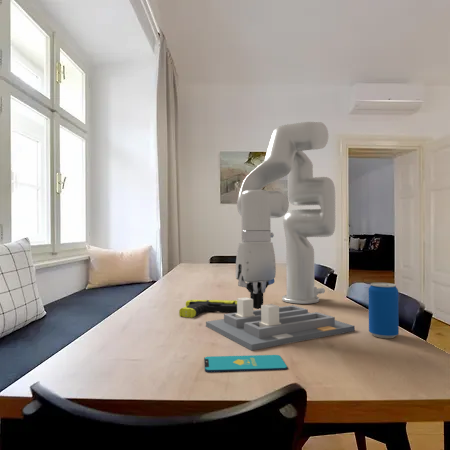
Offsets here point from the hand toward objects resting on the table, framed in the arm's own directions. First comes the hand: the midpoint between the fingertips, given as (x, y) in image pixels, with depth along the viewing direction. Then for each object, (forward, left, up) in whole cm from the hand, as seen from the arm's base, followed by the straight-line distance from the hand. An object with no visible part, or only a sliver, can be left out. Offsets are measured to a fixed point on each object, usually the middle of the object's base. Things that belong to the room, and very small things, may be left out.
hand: (256, 307), depth 97 cm
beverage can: (-21, +22, -5) cm, 31 cm away
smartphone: (+17, +22, -5) cm, 28 cm away
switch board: (-3, +5, -5) cm, 7 cm away
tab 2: (+3, +10, -3) cm, 11 cm away
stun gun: (+3, -20, -5) cm, 20 cm away
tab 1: (+4, 0, -3) cm, 5 cm away
